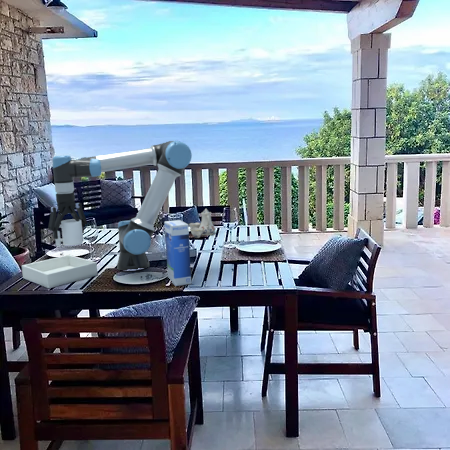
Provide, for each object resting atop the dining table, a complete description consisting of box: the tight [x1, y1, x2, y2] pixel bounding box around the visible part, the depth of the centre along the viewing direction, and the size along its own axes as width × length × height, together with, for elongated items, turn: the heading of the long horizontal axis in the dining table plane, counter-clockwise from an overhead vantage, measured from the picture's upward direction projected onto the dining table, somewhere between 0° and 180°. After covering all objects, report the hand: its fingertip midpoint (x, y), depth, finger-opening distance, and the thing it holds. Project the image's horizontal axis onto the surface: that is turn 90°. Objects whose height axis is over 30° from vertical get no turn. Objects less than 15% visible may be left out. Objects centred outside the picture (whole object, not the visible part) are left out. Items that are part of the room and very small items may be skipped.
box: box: [21, 254, 98, 289], centre depth 226 cm, size 24×24×6 cm
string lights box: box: [164, 219, 192, 287], centre depth 211 cm, size 13×8×26 cm, turn 21°
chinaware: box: [187, 208, 216, 239], centre depth 307 cm, size 28×17×17 cm, turn 12°
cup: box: [59, 218, 84, 247], centre depth 211 cm, size 8×12×10 cm
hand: (69, 243), depth 213 cm, fingers closed on cup, 10 cm apart
